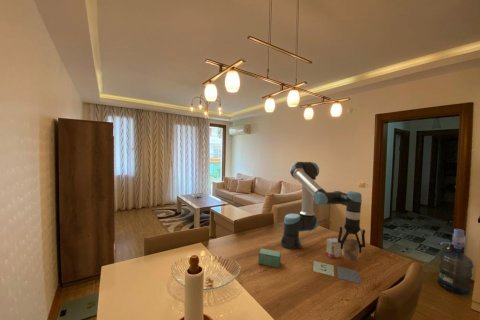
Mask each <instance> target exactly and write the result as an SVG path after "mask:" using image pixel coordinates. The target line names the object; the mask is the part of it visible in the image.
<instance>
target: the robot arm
mask: <svg viewBox="0 0 480 320" xmlns="http://www.w3.org/2000/svg"><path fill="white" fill-rule="evenodd" d="M289 173H290V175H291V177H292V178H293V179H294V180H297V181H298V182H299V183H300V184H301V210H300V212H299V214H298V213H288V214H286V215H285V216H284V219H283V234H282V236H281V239H280V245H281V246H282V247H283V248H285V249H288V250H298V249H299V250H300V248H301V246H302V245H301V244H302V243H301V240H300V232H311V231H315V230H316V229H317V228H318V225H319V219H318V217H317V216H316V214H315V212H314V203H315V204H316V205H318V206H329V205H330V206H331V205H342V206H345V208H346V211H345V221H344V222H345V223H344V225H339V226H338V227H339V231H338V232H339V233H338V237H337V239H338V243H341V248H340V250H341V251H342V252H341V254H342V256H343V257H344V241H345V240H346V238H348V236H349V235H354V236H355V240H357V242H358V244H359V248H358V259H359V255H360V254H361V253H362V248H366V238H365V237H366V236H365V234H366V229H364V228H361V227H360V224H361V220H360V219H361V211H362V209H361V208H362V201H363V199H362V198H363V197H362V193H360V192H359V191H353V190H352V191H350V190H349V191H347V193H346V192H342V191H340V190H334V191H332V192H331V191H326V190H325V189H324V188H322V186H321V185H320V184H318V183H317V182H316V179H317V177H318V176H319V174H320V168H319V165H318V164H317V163H315V162H313V161H312V162H311V161H295V162H293V163H292V164H291V166H290V168H289ZM344 229H345V233H344V234H342V233H343V231H344ZM359 232H360V233H361V234H360V235H361V241H360V238H359V234H358V233H359ZM342 235H343V237H342ZM341 238H342V239H341Z"/></svg>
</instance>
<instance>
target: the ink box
mask: <svg viewBox="0 0 480 320" xmlns="http://www.w3.org/2000/svg"><path fill="white" fill-rule="evenodd" d="M326 255H327V257H328V258H329V257H330V258H329V259H334V258H333V257H336V258H340V257H339V256H341V243H338V237H337V238H336V237H333V238H327V239H326V247H325V256H326Z"/></svg>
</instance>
